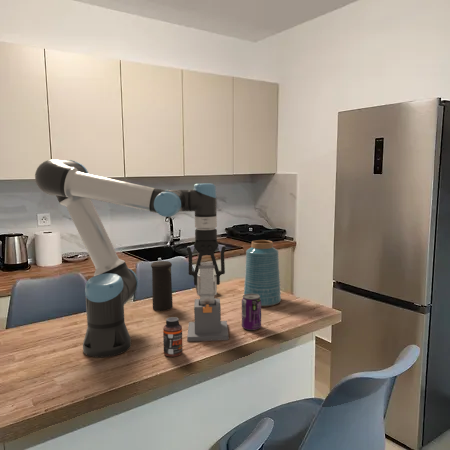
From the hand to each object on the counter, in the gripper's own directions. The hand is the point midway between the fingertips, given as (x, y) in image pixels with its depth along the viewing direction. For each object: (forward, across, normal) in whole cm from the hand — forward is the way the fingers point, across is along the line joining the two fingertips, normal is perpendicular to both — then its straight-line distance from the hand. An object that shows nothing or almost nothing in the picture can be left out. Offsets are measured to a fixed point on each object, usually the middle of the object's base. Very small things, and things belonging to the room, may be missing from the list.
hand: (207, 293), depth 142 cm
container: (+14, -19, +28) cm, 37 cm away
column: (+12, 0, 0) cm, 12 cm away
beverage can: (+14, +16, +3) cm, 22 cm away
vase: (+14, +24, +33) cm, 43 cm away
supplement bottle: (+14, -11, -16) cm, 24 cm away
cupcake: (+15, -1, +47) cm, 49 cm away
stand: (+14, 0, 0) cm, 14 cm away
